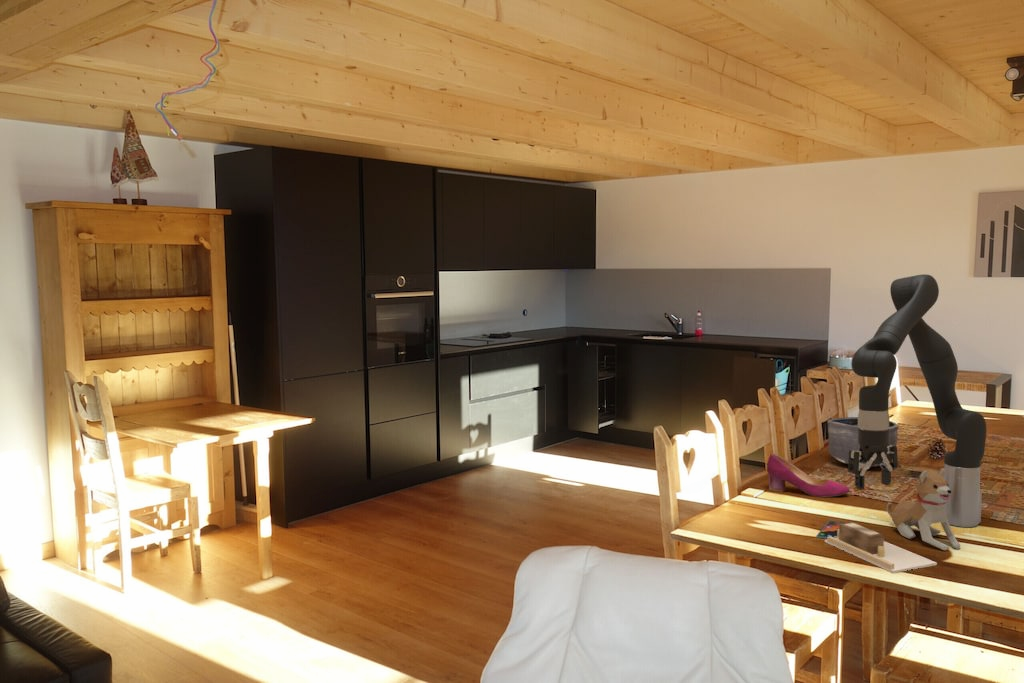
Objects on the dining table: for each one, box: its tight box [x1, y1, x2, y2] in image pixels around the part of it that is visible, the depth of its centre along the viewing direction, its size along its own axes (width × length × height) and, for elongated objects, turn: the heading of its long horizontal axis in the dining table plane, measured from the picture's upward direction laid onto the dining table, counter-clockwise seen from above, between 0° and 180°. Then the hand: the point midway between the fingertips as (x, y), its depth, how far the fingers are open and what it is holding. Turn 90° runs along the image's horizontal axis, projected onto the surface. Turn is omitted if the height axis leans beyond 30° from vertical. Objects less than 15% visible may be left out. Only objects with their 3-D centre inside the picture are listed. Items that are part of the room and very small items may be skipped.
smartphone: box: [816, 520, 846, 540], centre depth 228 cm, size 8×1×15 cm
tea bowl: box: [826, 416, 899, 468], centre depth 300 cm, size 25×22×17 cm
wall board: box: [824, 529, 938, 574], centre depth 211 cm, size 14×24×3 cm, turn 20°
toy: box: [886, 467, 961, 551], centre depth 222 cm, size 10×24×20 cm, turn 16°
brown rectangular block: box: [839, 522, 885, 554], centre depth 214 cm, size 11×4×5 cm, turn 20°
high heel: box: [766, 452, 850, 498], centre depth 266 cm, size 26×9×12 cm, turn 59°
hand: (872, 486), depth 212 cm, fingers open, 8 cm apart
